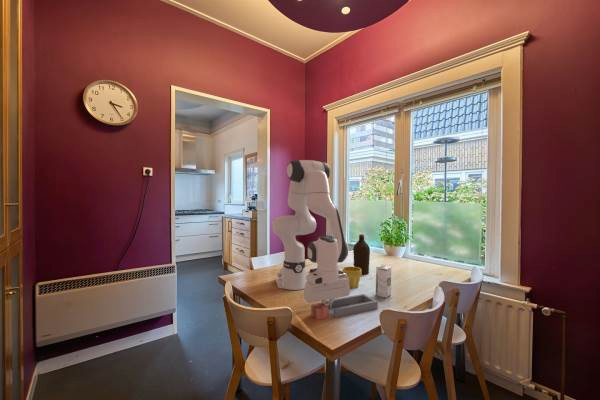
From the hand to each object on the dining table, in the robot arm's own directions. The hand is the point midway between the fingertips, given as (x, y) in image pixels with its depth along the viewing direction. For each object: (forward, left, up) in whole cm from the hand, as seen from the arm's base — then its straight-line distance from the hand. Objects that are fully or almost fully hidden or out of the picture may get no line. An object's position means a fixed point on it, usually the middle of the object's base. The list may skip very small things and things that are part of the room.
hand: (327, 309), depth 104 cm
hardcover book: (-48, +29, -3) cm, 56 cm away
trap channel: (0, +12, -3) cm, 12 cm away
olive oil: (-44, +51, -3) cm, 67 cm away
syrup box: (-8, +37, -3) cm, 38 cm away
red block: (+1, -2, 0) cm, 2 cm away
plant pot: (-25, +30, -3) cm, 39 cm away
